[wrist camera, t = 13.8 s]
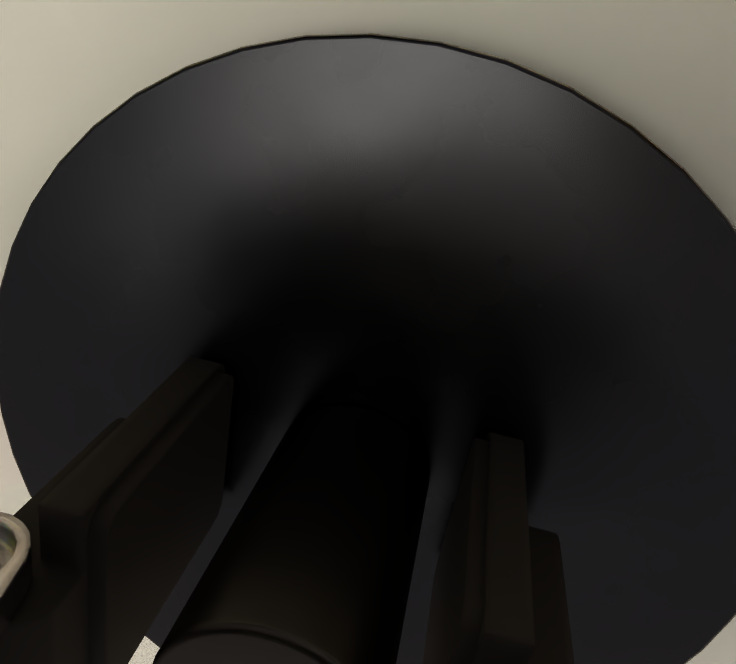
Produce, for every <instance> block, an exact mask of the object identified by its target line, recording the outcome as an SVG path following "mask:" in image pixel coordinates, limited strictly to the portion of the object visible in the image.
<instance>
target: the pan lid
mask: <svg viewBox="0 0 736 664" xmlns="http://www.w3.org/2000/svg"><path fill="white" fill-rule="evenodd" d="M189 357H196V358H200V359H204V360H207V361H211V362H215V363H219V364H223V365H224V367H225V374H228V375H232V376H233V379H234V386H233V396H232V406H231V417H230V427H229V437H228V447H227V457H226V467H225V478H224V488H223V498H222V504H221V507H220V511H219V513H218V516H217V518H216V520H215V522H214V523H213V525H212V527H211V528H210V530H209V532H208V533H207V535H206V537H205V538H204V540H203V541H202V543H201V545H200V546H199V548H198V550H197V551H196V553H195V555H194V556H193V558H192V559H191V561H190V563H189V564H188V566H187V568H186V569H185V571H184V572H183V574H182V576H181V577H180V579H179V581H178V582H177V584H176V586H175V587H174V589H173V590H172V592H171V594H170V595H169V597H168V599H167V600H166V602H165V604H164V605H163V607H162V608H161V610H160V612H159V613H158V615H157V617H156V618H155V620H154V621H153V623H152V625H151V626H150V628H149V630H148V631H147V633H146V635H145V636H146V637H147V638H148V639H150V640H151V641H152V642H153V643H155V644H156V645H157V646H158V647H160V649H159V651H158V652H157V654H156V656H155V659H154V661H153V664H423V657H424V649H425V642H426V634H427V626H428V618H429V611H430V603H431V595H432V587H433V580H434V574H435V570H436V565H437V561H438V557H439V554H440V551H441V547H442V544H443V540H444V537H445V534H446V530H447V527H448V524H449V520H450V517H451V513H452V510H453V507H454V503H455V500H456V496H457V493H458V490H459V486H460V483H461V479H462V476H463V473H464V469H465V466H466V463H467V459H468V456H469V452H470V449H471V446H472V443H473V440H474V438H479V439H483V440H486V438H487V435H488V433H489V432H491V433H495V434H499V435H503V436H507V437H511V438H515V439H519V440H522V441H523V443H524V457H525V475H526V493H527V510H528V526H531V527H535V528H538V529H542V530H546V531H550V532H553V533H556V534H557V535H558V537H559V541H560V547H561V555H562V564H563V572H564V580H565V589H566V597H567V606H568V614H569V622H570V631H571V639H572V648H573V656H574V664H685V663H687V662H688V661H689V660H691V659H692V658H693V657H694V656H696V655H697V654H698V653H699V652H701V651H702V650H703V649H704V648H705V647H706V646H707V645H708V644H709V643H710V642H711V641H712V640H713V639H714V638H715V637H716V635H717V634H718V633H719V632H720V631H721V630H722V629H723V628H724V627H725V626H726V625H727V624H728V623H729V622H730V621H731V620H732V619H733V618H734V616H735V615H736V231H735V229H734V228H733V226H732V225H731V223H730V221H729V220H728V219H727V217H726V216H725V215H724V214H723V213H722V212H721V210H720V209H719V208H718V207H717V206H716V205H715V204H714V202H713V201H712V200H711V199H710V198H709V197H708V196H707V194H706V193H705V192H704V191H703V190H702V189H701V188H700V186H699V185H698V184H697V183H696V182H695V181H694V180H693V178H692V177H691V176H690V175H689V174H688V173H687V171H686V170H685V169H684V168H682V167H681V166H680V165H679V164H678V163H677V162H675V161H674V160H673V159H672V158H671V157H669V156H668V155H667V154H666V153H665V152H664V151H662V150H661V149H660V148H659V147H658V146H656V145H655V144H654V143H653V142H652V141H651V140H649V139H648V138H647V137H646V136H645V135H643V134H642V133H641V132H640V131H639V130H638V129H636V128H635V127H634V126H633V125H631V124H630V123H628V122H627V121H625V120H623V119H622V118H620V117H618V116H617V115H615V114H614V113H612V112H610V111H609V110H607V109H606V108H604V107H602V106H601V105H599V104H597V103H596V102H594V101H593V100H591V99H589V98H588V97H586V96H584V95H583V94H581V93H580V92H578V91H576V90H575V89H573V88H571V87H570V86H567V85H565V84H563V83H560V82H558V81H556V80H553V79H551V78H549V77H546V76H544V75H542V74H540V73H537V72H535V71H533V70H530V69H528V68H526V67H523V66H521V65H519V64H516V63H514V62H512V61H509V60H507V59H503V58H500V57H496V56H492V55H488V54H485V53H481V52H477V51H474V50H470V49H466V48H462V47H459V46H455V45H451V44H448V43H444V42H438V41H430V40H421V39H413V38H404V37H396V36H388V35H379V34H339V35H305V36H299V37H294V38H288V39H283V40H277V41H272V42H266V43H261V44H255V45H250V46H244V47H241V48H238V49H235V50H232V51H229V52H226V53H223V54H220V55H217V56H215V57H212V58H209V59H206V60H203V61H200V62H197V63H194V64H191V65H188V66H186V67H184V68H182V69H180V70H178V71H176V72H175V73H173V74H171V75H169V76H167V77H165V78H163V79H161V80H160V81H158V82H156V83H154V84H152V85H150V86H148V87H146V88H145V89H143V90H141V91H139V92H137V93H135V94H134V95H133V96H132V97H130V98H129V99H128V100H126V101H125V102H124V103H122V104H121V105H120V106H118V107H117V108H116V109H115V110H113V111H112V112H111V113H109V114H108V115H107V116H105V117H104V118H103V119H101V120H100V121H99V122H98V123H96V124H95V125H94V126H93V127H92V128H91V129H90V130H89V131H88V132H87V133H86V134H85V135H84V136H83V137H82V138H81V139H80V140H79V142H78V143H77V144H76V145H75V146H74V147H73V148H72V149H71V150H70V151H69V152H68V153H67V154H66V155H65V156H64V157H63V159H62V160H61V161H60V162H59V163H58V164H57V166H56V167H55V169H54V170H53V172H52V173H51V175H50V176H49V178H48V179H47V181H46V182H45V184H44V185H43V187H42V188H41V190H40V191H39V193H38V194H37V196H36V197H35V199H34V200H33V202H32V203H31V205H30V207H29V210H28V212H27V214H26V216H25V218H24V220H23V223H22V225H21V227H20V229H19V231H18V234H17V236H16V238H15V240H14V242H13V244H12V247H11V251H10V254H9V258H8V262H7V265H6V269H5V272H4V276H3V279H2V283H1V287H0V407H1V413H2V417H3V421H4V424H5V428H6V431H7V435H8V439H9V442H10V446H11V449H12V453H13V456H14V458H15V460H16V463H17V465H18V468H19V470H20V473H21V475H22V477H23V480H24V482H25V485H26V487H27V489H28V492H29V494H30V496H31V497H33V496H35V495H36V494H37V493H38V492H39V491H40V490H41V489H42V488H43V487H44V486H45V485H46V484H47V483H48V482H49V481H50V480H51V479H52V478H54V477H55V476H56V475H57V474H58V473H59V472H60V471H61V470H62V469H63V468H64V467H65V466H66V465H67V464H68V463H69V462H70V461H71V460H72V459H74V458H75V457H76V456H77V455H78V454H79V453H80V452H81V451H82V450H83V449H84V448H85V447H86V446H87V445H88V444H89V443H90V442H91V441H93V440H94V439H95V438H96V437H97V436H98V435H99V434H100V433H101V432H102V431H103V430H104V429H105V428H106V427H107V426H108V425H109V424H110V423H112V422H113V421H115V420H116V419H118V418H127V417H128V416H129V415H130V414H131V413H132V412H133V411H134V410H135V409H136V408H137V407H138V406H139V405H140V404H141V403H142V402H143V401H145V400H146V399H147V398H148V397H149V396H150V395H151V394H152V393H153V392H154V391H155V390H156V389H157V388H158V387H159V386H160V385H161V384H162V383H163V382H164V381H165V380H166V379H167V378H168V377H169V376H170V375H171V374H172V373H173V372H174V371H175V370H176V369H177V368H178V367H179V366H180V365H181V364H182V363H184V362H185V361H186V360H187V359H188V358H189Z"/></svg>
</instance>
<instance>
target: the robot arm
mask: <svg viewBox="0 0 736 664" xmlns="http://www.w3.org/2000/svg"><path fill="white" fill-rule="evenodd" d="M233 386H234V379H233V376H232V375H228V374H225V367H224V365H223V364H219V363H215V362H211V361H207V360H204V359H200V358H196V357H189V358H188V359H187V360H186V361H185V362H184V363H182V364H181V365H180V366H179V367H178V368H177V369H176V370H175V371H174V372H173V373H172V374H171V375H170V376H169V377H168V378H167V379H166V380H165V381H164V382H163V383H162V384H161V385H160V386H159V387H158V388H157V389H156V390H155V391H154V392H153V393H152V394H151V395H150V396H149V397H148V398H147V399H146V400H145V401H143V402H142V403H141V404H140V405H139V406H138V407H137V408H136V409H135V410H134V411H133V412H132V413H131V414H130V415H129V416H128V417H127V418H118V419H116V420H115V421H113V422H112V423H110V424H109V425H108V426H107V427H106V428H105V429H104V430H103V431H102V432H101V433H100V434H99V435H98V436H97V437H96V438H95V439H94V440H93V441H91V442H90V443H89V444H88V445H87V446H86V447H85V448H84V449H83V450H82V451H81V452H80V453H79V454H78V455H77V456H76V457H75V458H74V459H72V460H71V461H70V462H69V463H68V464H67V465H66V466H65V467H64V468H63V469H62V470H61V471H60V472H59V473H58V474H57V475H56V476H55V477H54V478H52V479H51V480H50V481H49V482H48V483H47V484H46V485H45V486H44V487H43V488H42V489H41V490H40V491H39V492H38V493H37V494H36V495H35V496H33V497H32V498H31V499H30V500H29V501H28V502H27V503H26V504H25V505H24V506H23V507H22V508H21V509H20V510H19V511H18V512H17V513H16V514H14V515H13V516H12V515H10V514H7V513H3V512H0V664H128V662H129V661H130V659H131V657H132V656H133V654H134V653H135V651H136V649H137V648H138V646H139V644H140V643H141V641H142V639H143V638H144V636H145V635H146V633H147V631H148V630H149V628H150V626H151V625H152V623H153V621H154V620H155V618H156V617H157V615H158V613H159V612H160V610H161V608H162V607H163V605H164V604H165V602H166V600H167V599H168V597H169V595H170V594H171V592H172V590H173V589H174V587H175V586H176V584H177V582H178V581H179V579H180V577H181V576H182V574H183V572H184V571H185V569H186V568H187V566H188V564H189V563H190V561H191V559H192V558H193V556H194V555H195V553H196V551H197V550H198V548H199V546H200V545H201V543H202V541H203V540H204V538H205V537H206V535H207V533H208V532H209V530H210V528H211V527H212V525H213V523H214V522H215V520H216V518H217V516H218V513H219V511H220V507H221V504H222V498H223V488H224V478H225V467H226V457H227V447H228V437H229V427H230V417H231V406H232V396H233ZM423 664H574V656H573V648H572V639H571V631H570V622H569V614H568V606H567V597H566V589H565V580H564V572H563V564H562V555H561V547H560V541H559V537H558V535H557V534H556V533H553V532H550V531H546V530H542V529H538V528H535V527H531V526H528V510H527V493H526V475H525V457H524V443H523V441H522V440H519V439H515V438H511V437H507V436H503V435H499V434H495V433H491V432H489V433H488V435H487V438H486V440H483V439H479V438H474V440H473V443H472V446H471V449H470V452H469V456H468V459H467V463H466V466H465V469H464V473H463V476H462V479H461V483H460V486H459V490H458V493H457V496H456V500H455V503H454V507H453V510H452V513H451V517H450V520H449V524H448V527H447V530H446V534H445V537H444V540H443V544H442V547H441V551H440V554H439V557H438V561H437V565H436V570H435V574H434V580H433V587H432V595H431V603H430V611H429V618H428V626H427V634H426V642H425V649H424V657H423Z"/></svg>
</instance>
